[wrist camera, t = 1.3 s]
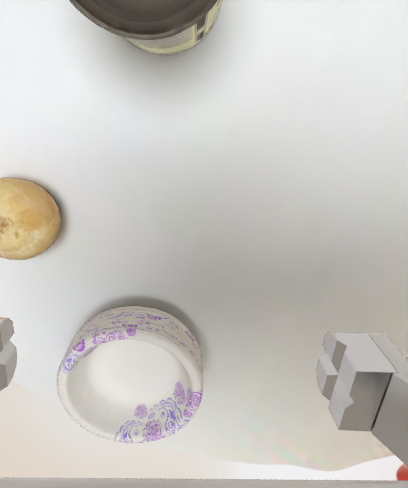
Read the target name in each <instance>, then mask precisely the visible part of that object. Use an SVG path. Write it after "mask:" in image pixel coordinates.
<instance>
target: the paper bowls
mask: <svg viewBox="0 0 408 488" xmlns="http://www.w3.org/2000/svg"><path fill="white" fill-rule="evenodd" d="M57 389H58V394H59V397H60V400H61V403H62V405H63V407H64V408H65V410H66V411H67V413H68V414H69V415H70V416H71V418H72V419H73V420H74V421H75V422H76V423H78V424H79V425H80V426H81V427H83V428H84V429H86V430H87V431H89V432H91V433H93V434H95V435H97V436H99V437H102V438H105V439H108V440H112V441H117V442H124V443H144V442H150V441H155V440H158V439H161V438H164V437H166V436H169V435H171V434H173V433H175V432H176V431H178V430H179V429H181V428H182V427H183V426H184V425H186V424H187V422H188V421H189V420H190V419H191V418H192V417H193V415H194V414H195V412H196V410H197V409H198V407H199V404H200V401H201V397H202V392H203V379H202V357H201V351H200V348H199V345H198V343H197V340H196V339H195V337H194V335H193V334H192V333H191V331H190V330H189V329H188V328H187V327H186V326H185V325H184V324H183V323H182V322H181V321H180V320H178V319H177V318H175V317H174V316H172V315H170V314H169V313H166V312H164V311H161V310H158V309H155V308H150V307H141V306H126V307H118V308H114V309H110V310H107V311H104V312H102V313H99V314H98V315H96V316H94V317H93V318H92V319H90V320H89V321H88V322H86V323H85V324H84V326H82V328H81V329H80V330H79V331H78V333H77V334H76V335H75V337H74V338H73V340H72V342H71V345H70V347H69V348H68V350H67V352H66V354H65V356H64V359H63V360H62V362H61V364H60V367H59V370H58V374H57Z"/></svg>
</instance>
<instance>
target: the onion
mask: <svg viewBox="0 0 408 488" xmlns="http://www.w3.org/2000/svg"><path fill="white" fill-rule="evenodd" d="M59 230H60V215H59V208H58V206H57V205H56V203H55V201H54V200H53V198H52V197H51V196H50V195H49V194H48V193H47V192H46V191H45V190H44V189H43V188H42V187H40V186H38V185H37V184H35V183H33V182H30V181H27V180H23V179H18V178H0V257H3V258H6V259H12V260H25V259H30V258H33V257H35V256H37V255H39V254H41V253H43V252H44V251H46V250H47V249H48V248H49V247H50V246H51V245H52V244H53V242H54V241H55V239H56V238H57V236H58V233H59Z"/></svg>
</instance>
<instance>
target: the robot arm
mask: <svg viewBox="0 0 408 488" xmlns="http://www.w3.org/2000/svg"><path fill="white" fill-rule="evenodd" d="M13 334H14V328H13V322H12V321H11V320H10V319H9V318H0V390H2V389H4V388H5V387H7V386H8V385H9V383H10V381H11V379H12V378H13V375H14V372H15V368H16V364H17V350H16V347H15V346H14V345H13V343H12V342H11V341H10V338H11V337H12V335H13ZM323 347H324V349H325V351H326V353H324V354H323V355H322V356H321V357H320V358H319V361H318V365H317V381H318V385H319V388H320V391H321V393H322V395H323V396H325V397H326V398H327V399H329V400H330V404H329V410H330V413H331V415H332V417H333V419H334V421H335V423H336V425H337V428H338V430H353V431H372V434H373V435H374V436H375V437H376V438H378V439H379V440H380V441H381V442H382V443H383V444H384V445H385V446H386V447H387V448H388V449H389V450H391V451H392V452H393V453H394V454H395V455H396V456H397V457H398V458H399V459H400V460H401V461H402V462H404V463H405V464H406V465H407V466H408V360H407V359H406V358H405V356H404V355H403V354H402V353H401V352H400V350H399V349H398V348H397V347H396V346H395V345H394V343H393V342H392V341H391V340H390V339H389V337H388V336H387V335H385V334H383V333H336V332H328V333H327V334H326V336H325V337H324V341H323ZM0 488H408V481H360V480H357V481H355V480H261V479H138V478H135V479H133V478H130V479H129V478H8V477H6V478H5V477H3V478H1V477H0Z"/></svg>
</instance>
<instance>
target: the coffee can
mask: <svg viewBox="0 0 408 488" xmlns="http://www.w3.org/2000/svg"><path fill="white" fill-rule="evenodd" d="M70 2H71V3H72V4H73V5H74V6H75V7H76V8H77V9H78V10H79V11H80V12H81V13H82V14H83V15H84V16H86V17H87V18H88V19H90V20H91V21H92V22H94V23H95V24H97V25H98V26H100V27H102V28H104V29H106V30H108V31H110V32H112V33H114V34H117V35H120V36H122V37H124V38H125V39H127V40H128V41H129V42H130V43H132V44H133V45H135V46H136V47H138V48H140V49H142V50H144V51H147V52H150V53H153V54H161V55H169V54H177V53H180V52H183V51H186V50H188V49H189V48H191V47H193V46H195V45H196V44H197V43H198V42H200V41H201V40H202V39H203V38H204V37H205V36H206V35H207V33H208V32H209V31H210V29H211V28H212V26H213V24H214V22H215V20H216V18H217V15H218V13H219V10H220V6H221V2H222V0H70Z"/></svg>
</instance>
